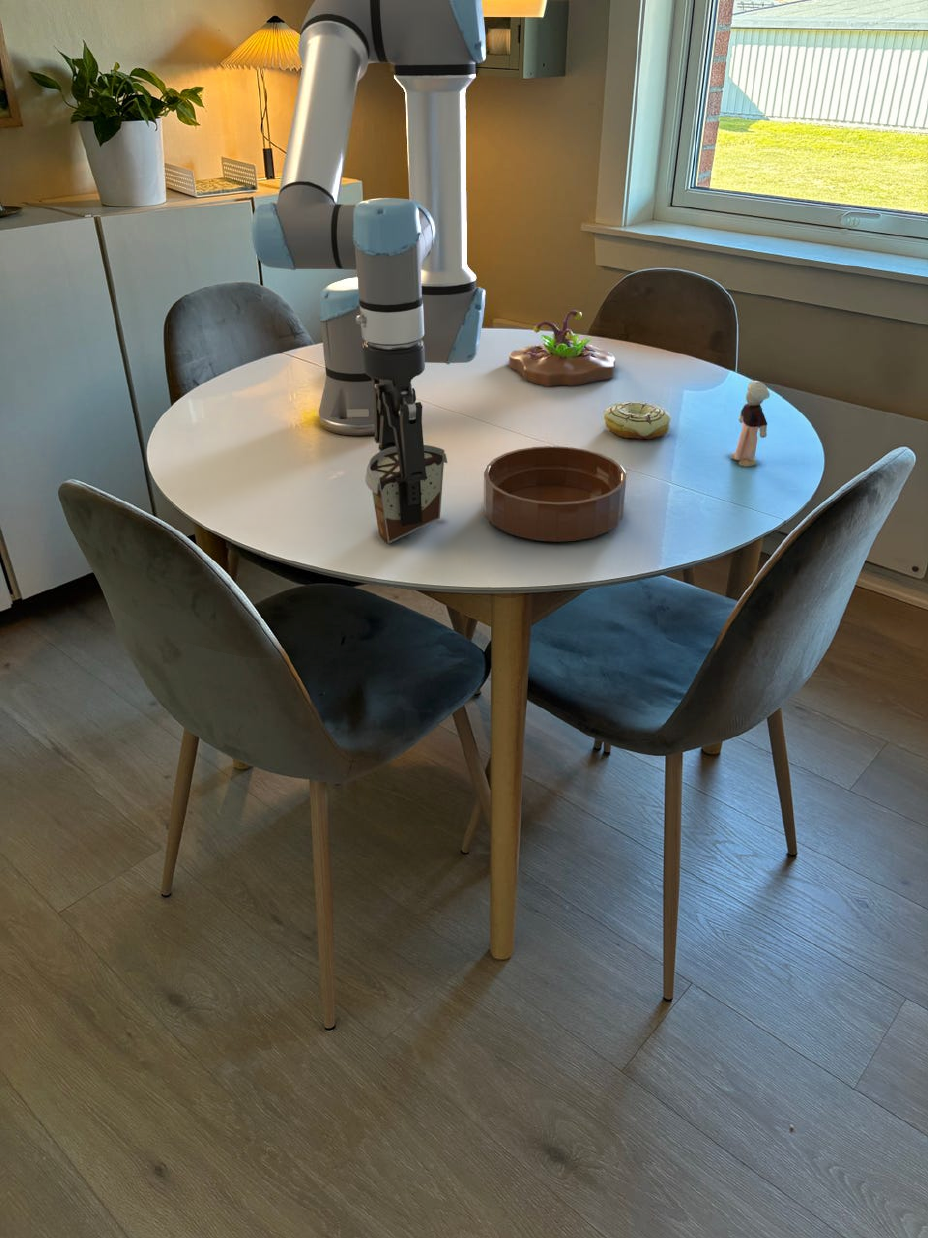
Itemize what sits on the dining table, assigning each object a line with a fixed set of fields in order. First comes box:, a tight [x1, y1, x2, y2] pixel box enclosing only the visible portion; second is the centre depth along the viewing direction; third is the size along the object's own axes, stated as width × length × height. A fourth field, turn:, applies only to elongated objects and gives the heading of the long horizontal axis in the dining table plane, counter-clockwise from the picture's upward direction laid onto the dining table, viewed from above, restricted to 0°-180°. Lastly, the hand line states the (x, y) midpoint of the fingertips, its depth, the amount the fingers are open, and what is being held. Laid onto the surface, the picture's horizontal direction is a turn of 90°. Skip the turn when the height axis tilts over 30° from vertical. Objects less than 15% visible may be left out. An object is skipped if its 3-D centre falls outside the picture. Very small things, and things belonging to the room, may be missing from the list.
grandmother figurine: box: [730, 380, 771, 468], centre depth 140 cm, size 8×4×13 cm, turn 23°
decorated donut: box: [603, 401, 671, 440], centre depth 154 cm, size 10×11×4 cm
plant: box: [508, 309, 616, 388], centre depth 180 cm, size 20×20×11 cm
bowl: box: [483, 445, 627, 543], centre depth 128 cm, size 19×19×6 cm
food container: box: [364, 444, 448, 545], centre depth 124 cm, size 12×6×10 cm, turn 135°
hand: (402, 510), depth 125 cm, fingers closed on food container, 7 cm apart
